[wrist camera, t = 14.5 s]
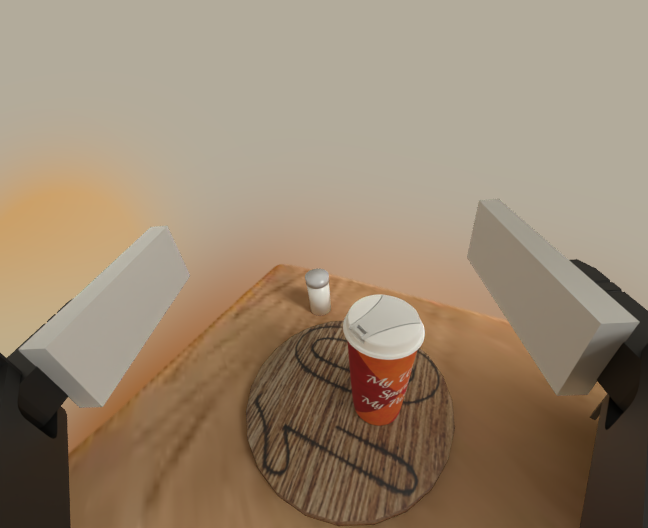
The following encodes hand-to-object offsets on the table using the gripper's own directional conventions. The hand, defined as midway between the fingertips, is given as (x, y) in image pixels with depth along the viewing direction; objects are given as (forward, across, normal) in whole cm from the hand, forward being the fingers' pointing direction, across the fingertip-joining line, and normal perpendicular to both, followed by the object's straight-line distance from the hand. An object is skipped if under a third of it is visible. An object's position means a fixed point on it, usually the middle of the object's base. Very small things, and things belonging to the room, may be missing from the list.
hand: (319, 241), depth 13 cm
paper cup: (+8, +3, -28) cm, 30 cm away
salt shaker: (+27, -4, -29) cm, 40 cm away
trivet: (+10, 0, -30) cm, 32 cm away
